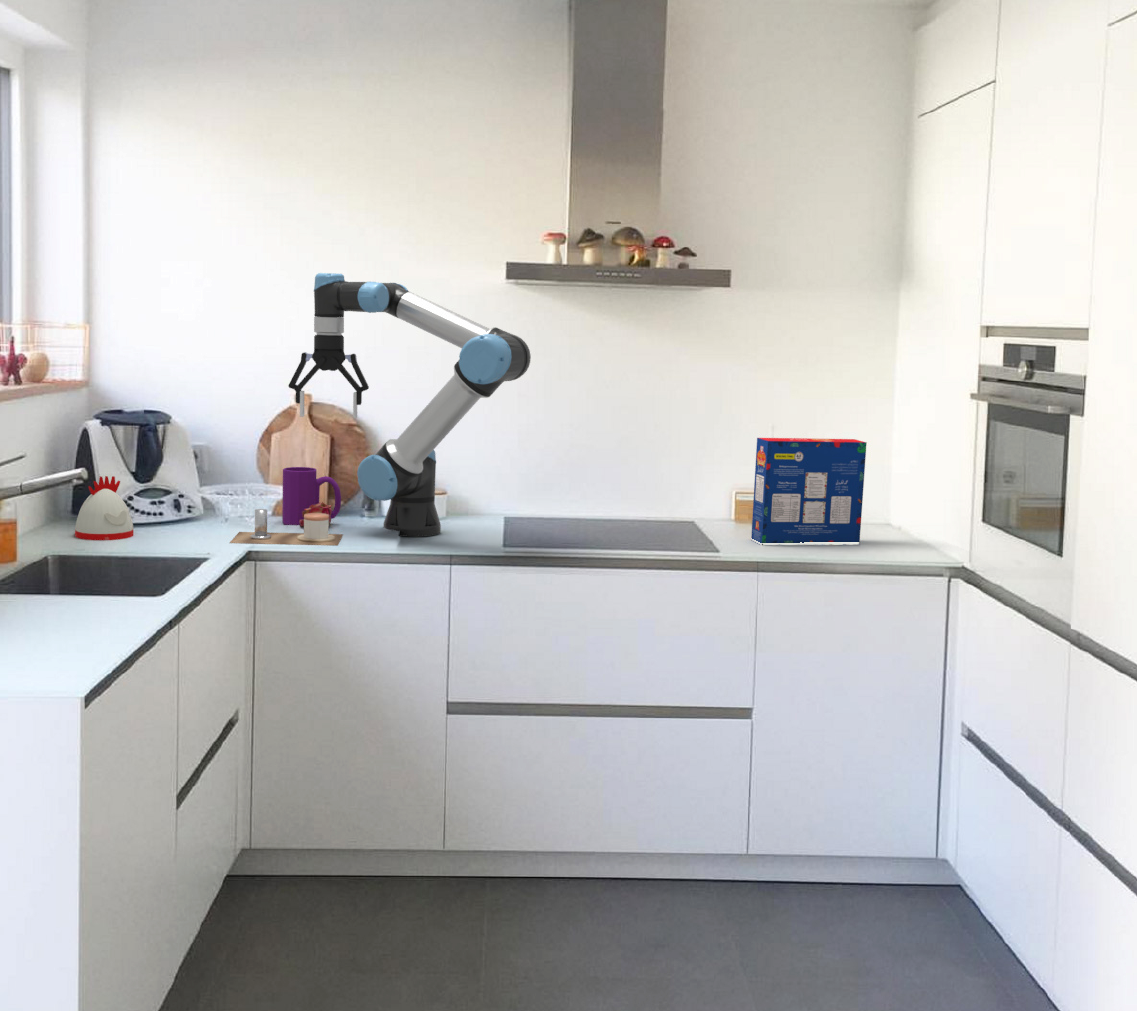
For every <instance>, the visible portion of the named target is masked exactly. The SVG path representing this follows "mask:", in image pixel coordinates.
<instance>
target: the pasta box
mask: <svg viewBox="0 0 1137 1011" xmlns="http://www.w3.org/2000/svg"><path fill="white" fill-rule="evenodd" d="M755 449H756V452H755V469H754V470H755V471H754V483H753V484H754V487H753V501H752V502H753V503H752V517H751V518H752V522H751V538H752V539H754V540H756V541H758V542H760V543H800V542H802V543H804V542H860V541H861V527H862V526H861V524H862V515H863V513H862V512H863V498H864V497H863V496H864V487H865V486H864V485H865V470H866V469H865V468H866V458H867V457H866V456H867V441H863V440H859V439H853V438H852V439H851V438H802V437H801V438H799V437H794V438H793V437H789V438H788V437H757V438H756V448H755ZM751 538H750V539H751Z"/></svg>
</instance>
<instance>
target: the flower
mask: <svg viewBox="0 0 1137 1011" xmlns="http://www.w3.org/2000/svg"><path fill="white" fill-rule="evenodd" d="M332 506H333V505H332V504H330V505H329V504H326V503H324V502H319V503H318V504H316V505H311V506H310V507H309V508H308V509H304V511H302V515H303V517H304V514H308V513H324V514H328V515H329V527H331V526H332V525H333V523H331V522H332V519H331V513H332V511H333V509H332ZM299 523H300V525H298V526H299V528H301V527H304V520H300V521H299Z"/></svg>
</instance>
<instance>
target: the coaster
mask: <svg viewBox="0 0 1137 1011" xmlns="http://www.w3.org/2000/svg"><path fill="white" fill-rule="evenodd" d="M298 540H300V541H304V542H329V541H333V540H335V537H334V536H333V535H328V538H323V539H309V538H305V537H304V534H303V535H299V536H298Z"/></svg>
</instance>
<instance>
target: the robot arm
mask: <svg viewBox="0 0 1137 1011" xmlns="http://www.w3.org/2000/svg"><path fill="white" fill-rule="evenodd" d="M313 294H314V295H313V296H314V301H313V303H314V316H313V321H314V322H313V325H314V326H313V331H314V333H316V334H314V336H313V337H314V338H313V353H308V352H305V351H304V352H302V353H301V355H300V362H299V363H298V366H297V367H296V370H295V371H294V374H293V375H292V377H291V380H290V381H289V384H288V388H289V389H292V390H294V391H295V403H296V404H299V417H301V418H304V417H305V390H302V389H303V388H304V387H305V386H306V385H307V384H308V383H309V381H310V380H312V378H313V377H314V375H315V374H317V372H318V371H319V370H321V371H323V372H325V371H331V372H333V371H334V372H335V371H337V370H338V372H340V373H341V374H342V375H343V377H344V378H345V379H346V381H347V382H348V383H349V384H350V385H351V386H352V388H353V389H354V390H355V392H353V393H352V394H353V395H352V396H353V397H352V398H353V402H352V403H353V404H352V405H353V406H352V407H353V408H352V410H353V412H352V414H353V415H352V417H353V419H357V418H358V406H361V405H362V402H363V401H362V400H363V398H362V396H363V395H362V393H363V392H364V391H367V390H368V389H369V388H370V387H369V386H370V385H369V384H368V382H367V380H366V378H365V376H364V374H363V371H362V370H361V367H360V365H359V363H358V360H357V354H356V353H350V354H345V336H343V334H344V333H345V318H344V317H345V312H354V313H355V312H356V313H369V314H370V313H372V314H373V313H375V314H376V313H386V314H388V315H391V316H393V317H394V318H397V319H400V320H401V321H403V322H406V323H407V324H410V325H412V326H414V327H416V328H418V329H421V330H422V331H424V332H427V333H429V334H431V335H433V336H435V337H438V338H439V339H441V340H444V341H445V342H447V343H449V344H451V345H454V346H455V347H458V348H460V349H461V350H460V352H459V354H458V355H459V359H458V360H457V361H456V363H455V364H454V365H453V373H454V374H453V376H451V378H450V379H449V380H448V381H447V382H446V384H444V386H443V387H442V388H441V389H440V390H439V391H438V392H437V393H436V394H435V396H434V397H433V398H432V399H431V400H430V401H429V402H428V403H427V405H426V406H425V407H424V408H423V409H422V410H421V411H420V413H419V414H417V416H416V417H415V418H414V420H412V422H411V423H410V424H408V426H407V428H405V430H404V431H403V432H402V433H401V434H400V435H399V436H398V437H397V438H392V439H391V438H390V439H388V440H387V441H386V442H385V443H384V444H383V445H382V446H381V448H380V449H379V450H378V451H377V452H376V453H374V454H370V455H368V456H367V457H365V458H364V459H362V461H361V462H360V463H359V465H358V468H357V472H356V474H357V475H356V476H357V483H358V486H359V488H360V490H361V491H362V492H363V494H364V495H365V496H367V497H368V498H369V499H371V500H374V501H384V502H385V501H390V502H389V507H388V508H387V512H386V516H385V518H384V520H383V525H382V526H383V527H382V528H384V529H387V530H391V531H394V532H395V531H396V532H398V537H413V538H415V537H430V536H432V537H433V536H436V535H439V534H441V532H442V531H441V526H442V525H441V521H440V518H439V514H438V512H437V508H436V503H435V500H436V473H437V472H436V469H437V468H436V466H437V459H436V458H437V457H436V451H435V449H436V448H437V447H438V445H439V444H440V443H441V442H442V441H443V440H444V439H445V438H446V437H447V436H448V435H449V433H450V432H451V431H452V430H453V429H454V427H456V425H457V424H458V423H459V422H461V420H462V419H463V418H464V416H466V415H467V413H468V412H469V411H470V410H471V409H472V408H473V407H474V406H475V404H477V402H478V401H479V400H480V399H481V398H483V399H484V398H485V399H486V398H487V399H488V398H490V397H491V396H492V395H493V394H494V393H495V391H496V390H498V389H499V387H500V386H502V384H503V383H504V382H512V381H515V380H517V379H520V378H521V377H523V375H525V374H526V373H527V371H528V369H529V367H530V365H531V355H532V354H531V350H530V348H529V346H528V345H527V342H526V341H525V340H523V339H522V338H521V337H520V336H518V335H515V334H513V333H511V332H508V331H506V330H503V329H500V328H498V327H495V326H494V327H491V328H489V327H486V326H485V325H482V324H481V323H478V322H476V321H474V320H471V319H470V318H467V317H465V316H463V315H460V314H459V313H456V312H454V311H453V310H450V309H449V308H446V307H444V306H442V305H439V304H438V303H435V302H433V301H431V300H428V299H426V298H425V297H423V296H420V295H418V294H417V293H416V294H415V293H414V292H411V291H409V290H408V289H407V287H406V286H404V285H403V284H401V283H397V282H376V281H346V280H345V276H344V274H342V273H332V272H331V273H329V272H324V273H323V272H318V273H316V275H315V277H314V289H313ZM311 359H312V360H313V361H314V363H315V364H314V366H313V367H312V368H311V369H310V370H309V372H308V373H307V374H306V375H305V376H304V377H303V379H302V380H301V381H300V382H299V383H298V384H297V382H298V380H299V378H300V376H301V374H302V372H303V370H304V368H305V366H306V364H307V362H309V361H310V360H311ZM346 360H347V361H348V362H349V364H350V363H351V366H352V369H353V371H354V372H355V374H356V376H357V378H358V380H359V382H360V385H361V386H360V385H359V383H358V382H357V381H356V380H355V379H354V377H353V376H352V375H351V374H350V373H349V371H348V370H347V369H346V368H345V366H344V365H343V363H344V362H345V361H346Z"/></svg>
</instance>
